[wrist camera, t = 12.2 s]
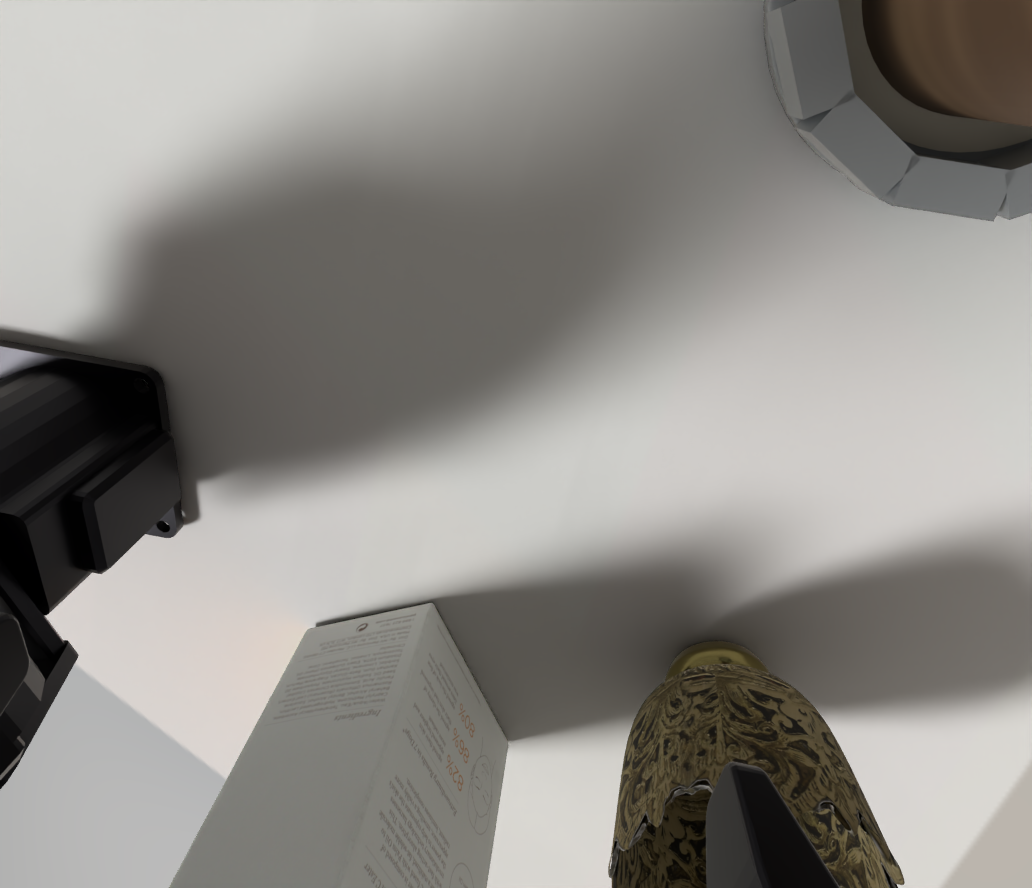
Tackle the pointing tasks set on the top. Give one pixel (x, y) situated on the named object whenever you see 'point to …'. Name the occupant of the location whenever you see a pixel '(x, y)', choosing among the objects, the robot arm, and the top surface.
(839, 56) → the ring
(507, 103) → the top surface
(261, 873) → the small box
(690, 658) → the ornate scalloped vase
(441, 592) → the top surface
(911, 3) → the brown cylinder
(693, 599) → the top surface
